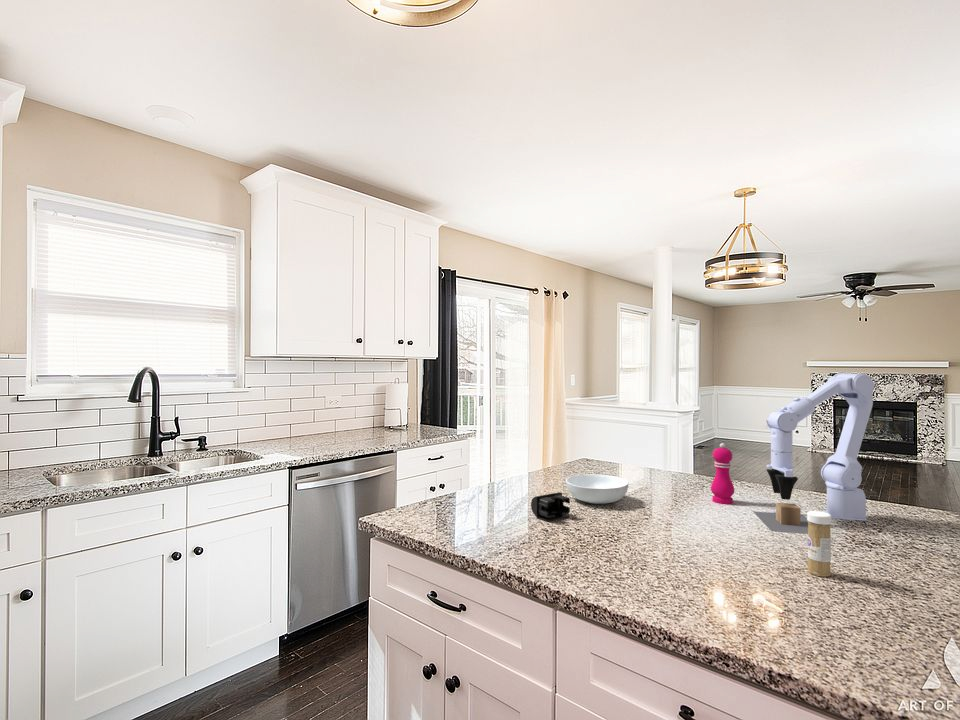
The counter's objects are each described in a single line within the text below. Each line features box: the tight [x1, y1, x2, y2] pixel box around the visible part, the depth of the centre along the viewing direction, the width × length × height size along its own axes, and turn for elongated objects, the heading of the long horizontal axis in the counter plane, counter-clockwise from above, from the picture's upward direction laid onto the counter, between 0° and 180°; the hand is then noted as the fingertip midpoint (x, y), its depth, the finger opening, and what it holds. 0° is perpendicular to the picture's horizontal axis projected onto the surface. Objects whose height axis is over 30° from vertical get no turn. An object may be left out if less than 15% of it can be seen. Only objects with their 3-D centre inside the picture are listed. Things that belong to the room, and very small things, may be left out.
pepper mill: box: [710, 442, 735, 505], centre depth 177 cm, size 7×7×20 cm
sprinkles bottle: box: [806, 510, 832, 578], centre depth 117 cm, size 5×5×14 cm
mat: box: [752, 511, 808, 535], centre depth 154 cm, size 14×20×1 cm
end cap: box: [530, 491, 571, 523], centre depth 160 cm, size 10×7×7 cm
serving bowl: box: [565, 473, 630, 505], centre depth 179 cm, size 21×21×7 cm
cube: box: [775, 502, 801, 526], centre depth 154 cm, size 5×5×5 cm
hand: (781, 496), depth 160 cm, fingers open, 7 cm apart
